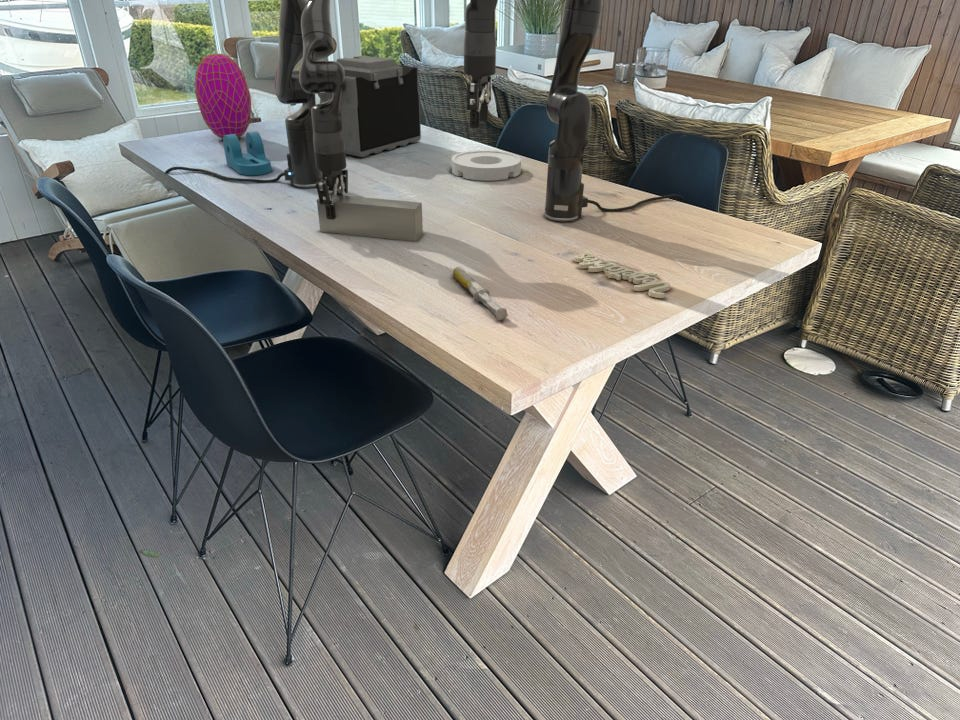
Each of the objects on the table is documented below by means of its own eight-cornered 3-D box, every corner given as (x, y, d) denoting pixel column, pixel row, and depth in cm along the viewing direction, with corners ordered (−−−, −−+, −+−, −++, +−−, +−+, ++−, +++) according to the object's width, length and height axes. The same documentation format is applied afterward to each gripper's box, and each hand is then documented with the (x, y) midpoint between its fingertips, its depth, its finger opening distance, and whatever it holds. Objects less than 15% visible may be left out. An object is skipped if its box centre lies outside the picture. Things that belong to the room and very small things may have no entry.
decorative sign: (686, 282, 150) (660, 295, 144) (686, 286, 150) (659, 300, 144) (592, 249, 166) (565, 259, 160) (592, 253, 167) (565, 263, 161)
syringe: (449, 274, 155) (449, 263, 153) (465, 272, 156) (464, 260, 154) (490, 323, 135) (491, 310, 133) (508, 319, 136) (508, 307, 134)
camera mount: (227, 164, 233) (221, 132, 227) (257, 160, 238) (252, 129, 233) (244, 176, 220) (239, 143, 215) (276, 172, 225) (271, 139, 220)
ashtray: (453, 161, 240) (453, 149, 238) (520, 162, 239) (520, 150, 237) (449, 179, 220) (449, 167, 218) (521, 181, 219) (522, 168, 217)
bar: (320, 231, 178) (316, 199, 174) (329, 224, 183) (325, 193, 178) (416, 241, 173) (414, 209, 168) (422, 234, 177) (421, 202, 173)
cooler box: (383, 133, 276) (378, 52, 261) (425, 141, 265) (422, 56, 250) (314, 150, 251) (304, 61, 235) (358, 160, 240) (350, 67, 224)
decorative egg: (221, 147, 254) (205, 59, 239) (195, 138, 265) (178, 54, 250) (266, 138, 266) (254, 54, 251) (239, 130, 277) (226, 49, 262)
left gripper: (328, 141, 176) (334, 205, 185) (302, 154, 164) (310, 223, 172) (355, 143, 174) (360, 208, 183) (331, 157, 162) (337, 225, 171)
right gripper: (488, 56, 154) (487, 131, 162) (502, 49, 166) (500, 119, 174) (456, 55, 155) (456, 129, 164) (472, 48, 167) (471, 117, 175)
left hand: (336, 215), depth 178 cm, fingers closed on bar, 5 cm apart
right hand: (479, 124), depth 169 cm, fingers open, 8 cm apart
